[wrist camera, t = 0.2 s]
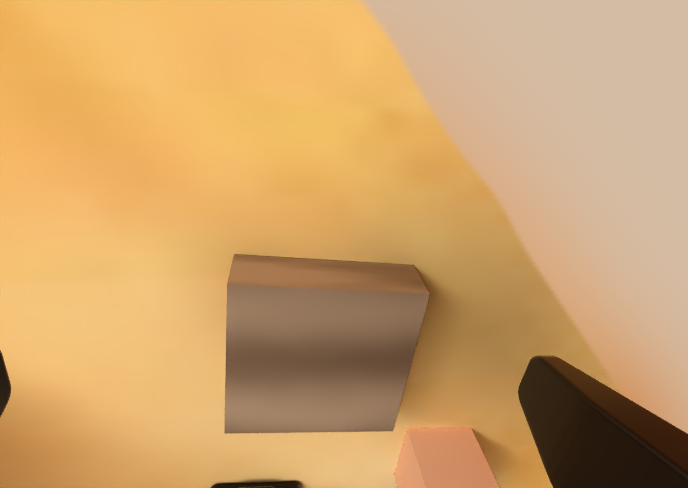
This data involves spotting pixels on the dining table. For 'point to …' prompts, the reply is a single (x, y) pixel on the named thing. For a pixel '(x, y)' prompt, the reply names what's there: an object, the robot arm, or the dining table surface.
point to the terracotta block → (442, 460)
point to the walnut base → (319, 343)
